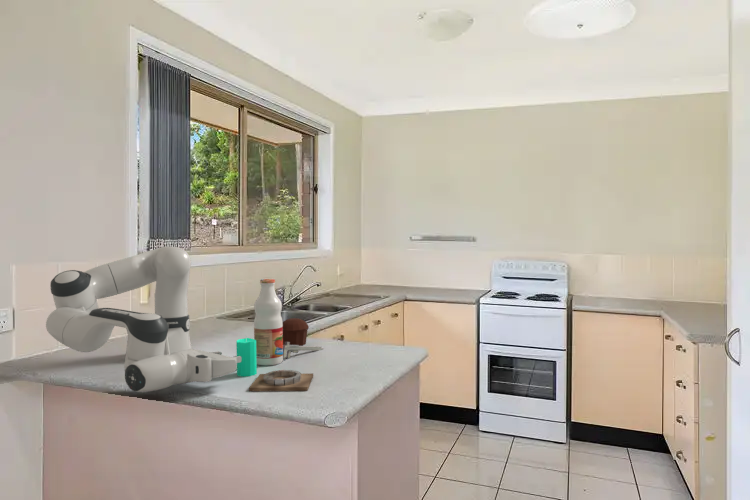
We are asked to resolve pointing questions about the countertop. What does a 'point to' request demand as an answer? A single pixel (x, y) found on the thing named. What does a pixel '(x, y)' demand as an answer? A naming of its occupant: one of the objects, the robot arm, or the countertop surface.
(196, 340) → the countertop surface
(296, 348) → the caliper
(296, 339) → the muffin
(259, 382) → the ring board
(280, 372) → the ring collar
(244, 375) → the candle
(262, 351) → the fruit juice
